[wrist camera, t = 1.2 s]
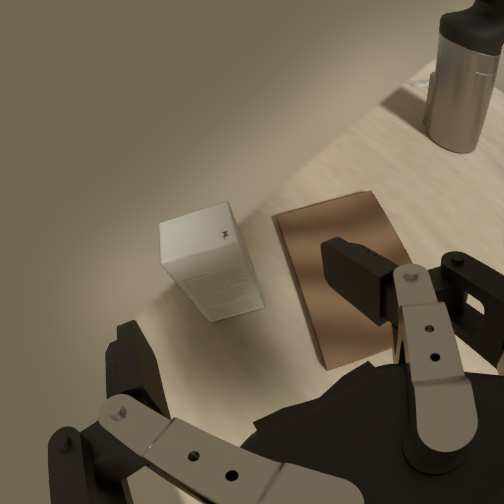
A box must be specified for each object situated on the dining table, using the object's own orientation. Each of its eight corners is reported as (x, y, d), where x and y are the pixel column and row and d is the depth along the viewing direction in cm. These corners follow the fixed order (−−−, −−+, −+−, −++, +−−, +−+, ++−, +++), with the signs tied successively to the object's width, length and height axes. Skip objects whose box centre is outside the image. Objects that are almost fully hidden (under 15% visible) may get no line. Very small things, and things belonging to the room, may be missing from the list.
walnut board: (277, 222, 37) (276, 215, 36) (370, 196, 37) (371, 190, 36) (326, 370, 27) (327, 368, 26) (437, 328, 27) (441, 324, 26)
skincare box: (256, 273, 34) (229, 198, 24) (265, 308, 32) (240, 241, 22) (202, 288, 34) (157, 221, 24) (208, 324, 32) (159, 265, 22)
